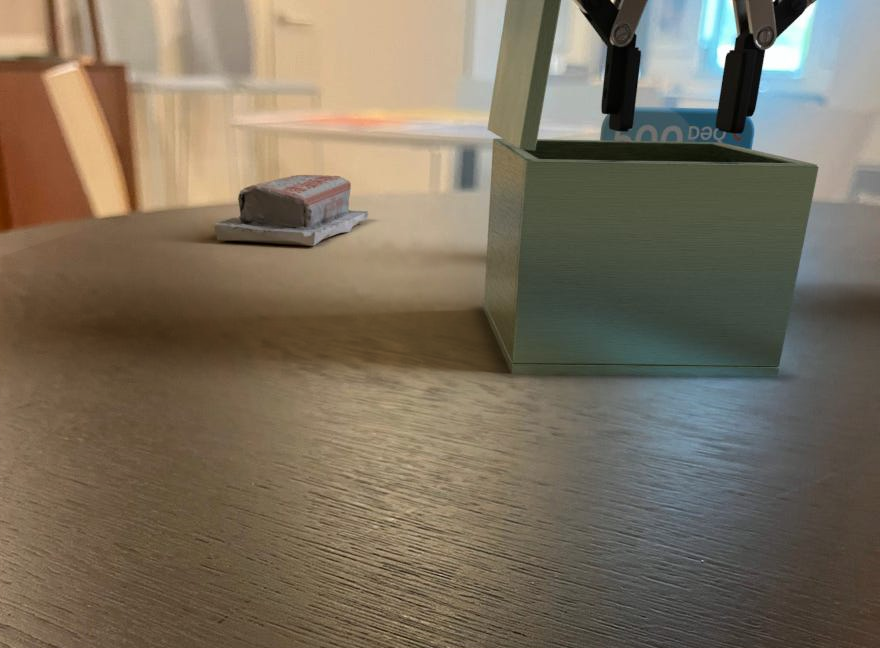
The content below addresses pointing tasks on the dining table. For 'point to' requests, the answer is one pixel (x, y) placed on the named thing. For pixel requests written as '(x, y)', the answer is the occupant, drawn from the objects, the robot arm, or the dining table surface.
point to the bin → (643, 256)
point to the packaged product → (292, 211)
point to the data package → (678, 127)
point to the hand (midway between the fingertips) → (674, 127)
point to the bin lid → (523, 70)
